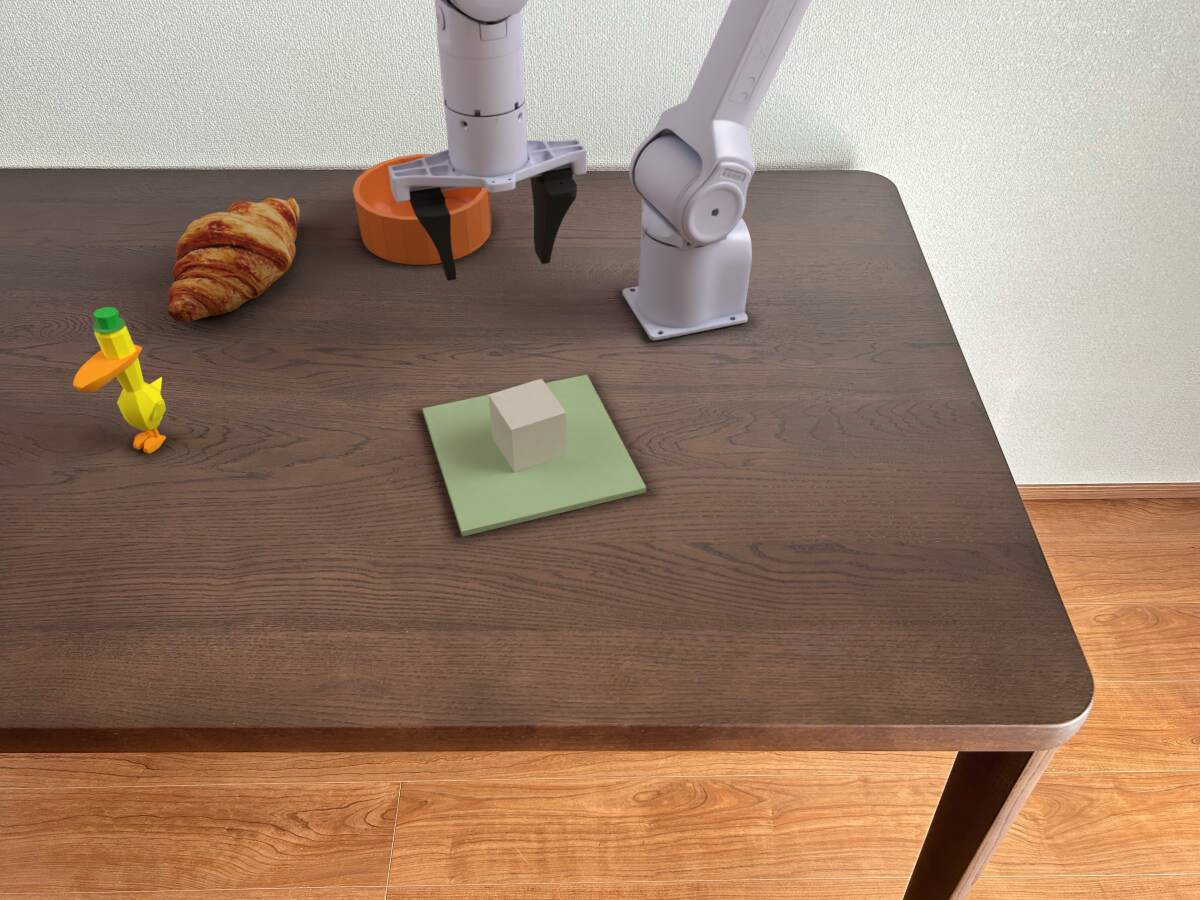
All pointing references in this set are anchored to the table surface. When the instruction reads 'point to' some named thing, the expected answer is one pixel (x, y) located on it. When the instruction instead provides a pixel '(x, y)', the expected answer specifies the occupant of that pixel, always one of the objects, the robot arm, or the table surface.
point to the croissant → (232, 257)
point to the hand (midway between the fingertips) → (496, 265)
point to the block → (528, 425)
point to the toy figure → (124, 378)
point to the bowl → (399, 230)
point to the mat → (557, 486)
